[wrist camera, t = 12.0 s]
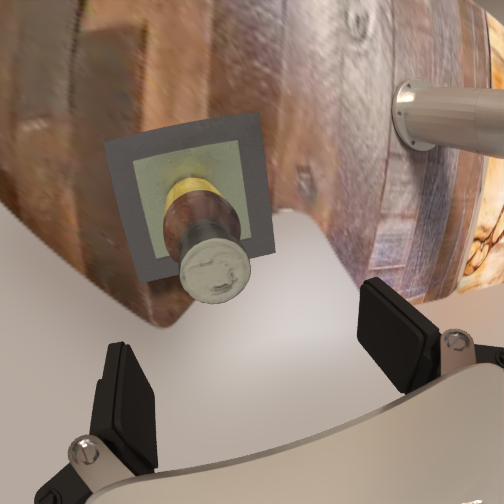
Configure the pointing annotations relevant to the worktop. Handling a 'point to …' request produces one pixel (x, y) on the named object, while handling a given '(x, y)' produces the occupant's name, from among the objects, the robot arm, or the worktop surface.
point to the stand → (190, 166)
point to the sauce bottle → (205, 241)
